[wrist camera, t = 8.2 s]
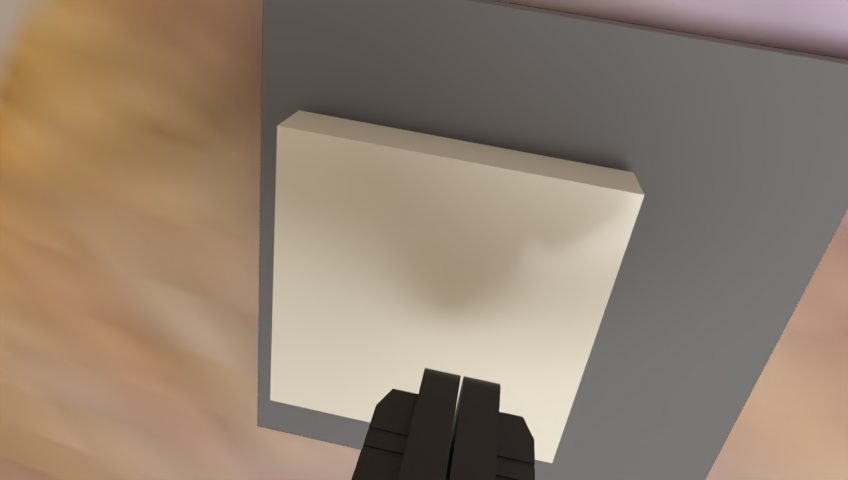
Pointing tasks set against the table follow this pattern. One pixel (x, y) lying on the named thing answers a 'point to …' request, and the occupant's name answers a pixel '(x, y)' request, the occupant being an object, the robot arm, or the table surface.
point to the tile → (438, 268)
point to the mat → (608, 147)
